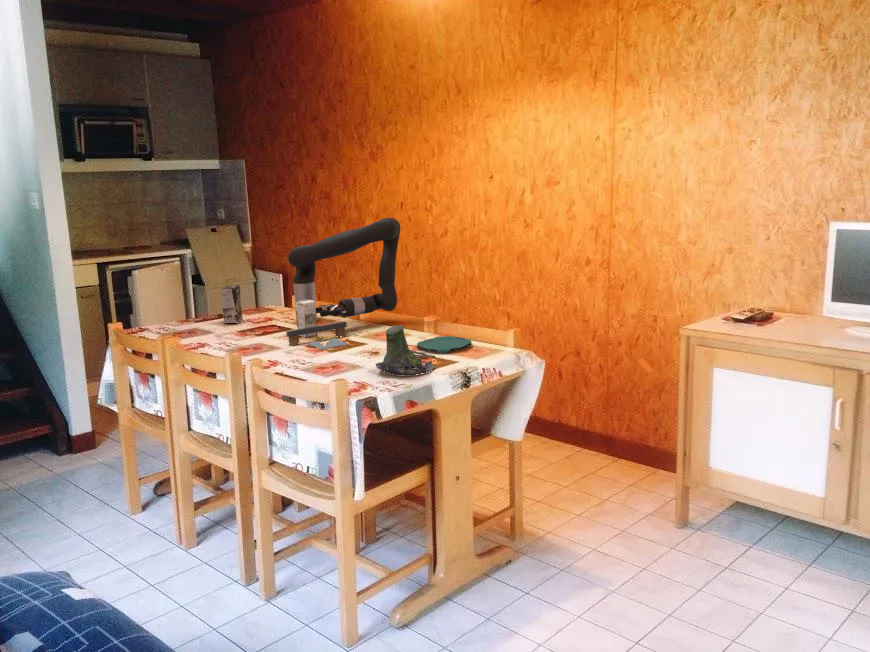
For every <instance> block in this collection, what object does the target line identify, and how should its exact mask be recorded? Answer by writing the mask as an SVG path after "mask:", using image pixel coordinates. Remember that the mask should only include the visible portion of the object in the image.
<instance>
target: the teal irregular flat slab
mask: <svg viewBox="0 0 870 652" xmlns="http://www.w3.org/2000/svg"><path fill="white" fill-rule="evenodd" d="M469 346H472V340H471V339H468V338H464V337H457V336H453V335H451V336H450V335H449V336H448V335H446V336H445V335H444V336H442V335H441V336H435V337H432V338H428V339H424V340H422V341H418V342H417V344H416V349H419V350H423V351H427V352H434V353H435V352H438V353H440V355H446V354H447V353H448V352H452V351H458V350H462V349H464V348H467V347H469ZM409 350H410V351H411V352H414V354H415V356H416V357H417V358H418V359H419V360H420V361H422V358H423V359H426V360H427V359H429V357H432V358H433V357H436V356H435V355H431V354H427V353H426V352H423V351H415V350H411V349H409ZM420 354H422V355H420Z"/></svg>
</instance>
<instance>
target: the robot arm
mask: <svg viewBox="0 0 870 652" xmlns="http://www.w3.org/2000/svg"><path fill="white" fill-rule="evenodd" d="M400 234H401V224H400V222H399V221H398V219H396V218H394V217H384V218H381V219H378V220H377V221H375V222H373V223H370V224H368V225H366V226H362V227H359V228H353V229H349V230H345V231H342V232H338V233H336V234H334V235H331V236H328V237H326V238H324V239H322V240H320V241H318V242H315V243H313V244H308V245H300V246H297V247H294V248H292V249H291V250H290V252H289V253H288V256H287V258H288V259H287V260H288V263H289V264H290V266H292V267H294V268H295V273H294V275H293V276H292V277H293V278H292V279H293V281H292V283H293V293H294V306H295V309H296V302H298V301H303V300H312V301H315V308H316V321H317V320H318V314H319V316H320V318H323V317H329V316H330V317H334V318H335V317H339V316H341V318H350V317H355V316H360V315H365V314H370V313H373V312H375V311H377V310H382V311H386V312H392V311H394V310H395V309H396V308H397V304H398V295H397V288H396V285H395V284H396V259H397V253H398V252H397V251H398V244H399V239H400ZM378 242H382V255H381V258H380V262H379V268H378V287H379V288H380V290H381V293H376V294H372V295H369V296H362V297H350V298H343V299H340V300H339V301H338V304H335V303H334V304H333V303H330V304H323V305H322V304H320V305H319V306H318V307H317V296H316V286H315V285H316V284H315V283H316V282H315V277H316V262H318V261H320V260H325V259H331V258H335V257H340V256H343V255H346V254H350V253H352V252H355V251H357V250H359V249H361V248H362V247H365V246H366V245H370V244H372V243H378ZM295 317H296V318H295V320H296V322H297V314H296V313H295Z"/></svg>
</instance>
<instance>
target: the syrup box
mask: <svg viewBox="0 0 870 652" xmlns="http://www.w3.org/2000/svg"><path fill="white" fill-rule="evenodd" d="M316 308H317V307H316ZM316 308H315V301H312V300H303V301H298V302H296V308H295V315H296V314H297V321H296V324H297V325H296V327H297V329H302V328H308V327H315V326H318V325H317V320H316ZM315 335H316V336H318V332H316V333H310V334H304V335H298V336H299V337H300V336H302V337H301V338H305V337H307V338H311V337H310V336H312V337H315Z"/></svg>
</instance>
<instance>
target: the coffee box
mask: <svg viewBox="0 0 870 652" xmlns="http://www.w3.org/2000/svg"><path fill="white" fill-rule="evenodd" d="M220 294H221V295H220V296H221V308H222V317H223V324H224V323H238V322H239V321H241V320H242V319H244V318H243V309H242V298H241V297H242V296H241V286H240V285H226V286H224V287H222V288H220ZM242 321H243V320H242ZM242 321H241V322H242ZM239 323H240V322H239ZM239 323H238V324H239Z"/></svg>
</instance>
